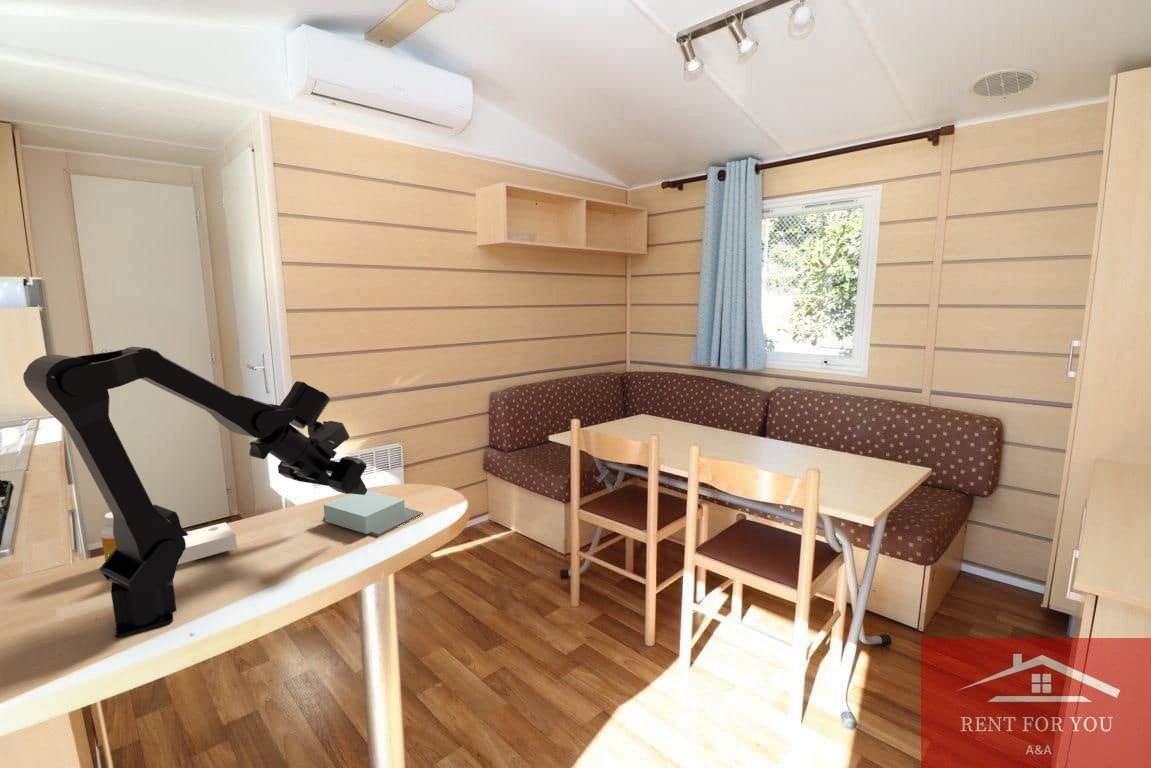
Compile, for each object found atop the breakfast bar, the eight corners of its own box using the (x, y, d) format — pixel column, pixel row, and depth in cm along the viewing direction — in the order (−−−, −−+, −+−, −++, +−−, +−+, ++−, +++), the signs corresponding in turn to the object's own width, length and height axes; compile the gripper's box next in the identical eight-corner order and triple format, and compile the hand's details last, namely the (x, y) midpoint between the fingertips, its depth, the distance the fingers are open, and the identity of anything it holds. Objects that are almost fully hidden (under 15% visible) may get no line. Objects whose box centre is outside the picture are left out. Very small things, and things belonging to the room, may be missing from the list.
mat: (378, 536, 108) (378, 533, 108) (323, 519, 115) (323, 517, 115) (423, 515, 118) (423, 512, 118) (369, 500, 126) (369, 498, 126)
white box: (148, 578, 92) (142, 535, 91) (141, 563, 97) (136, 521, 96) (237, 552, 101) (233, 513, 100) (227, 540, 106) (223, 502, 105)
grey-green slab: (365, 516, 107) (404, 499, 116) (323, 504, 113) (363, 489, 121) (366, 533, 108) (404, 515, 116) (324, 521, 113) (364, 504, 122)
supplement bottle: (128, 575, 93) (121, 520, 91) (97, 574, 93) (89, 519, 91) (154, 559, 98) (147, 507, 96) (125, 558, 98) (118, 506, 97)
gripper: (354, 416, 98) (404, 460, 110) (287, 405, 107) (339, 446, 119) (318, 472, 93) (374, 511, 105) (250, 455, 102) (309, 493, 113)
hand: (349, 488), depth 110 cm, fingers open, 9 cm apart
